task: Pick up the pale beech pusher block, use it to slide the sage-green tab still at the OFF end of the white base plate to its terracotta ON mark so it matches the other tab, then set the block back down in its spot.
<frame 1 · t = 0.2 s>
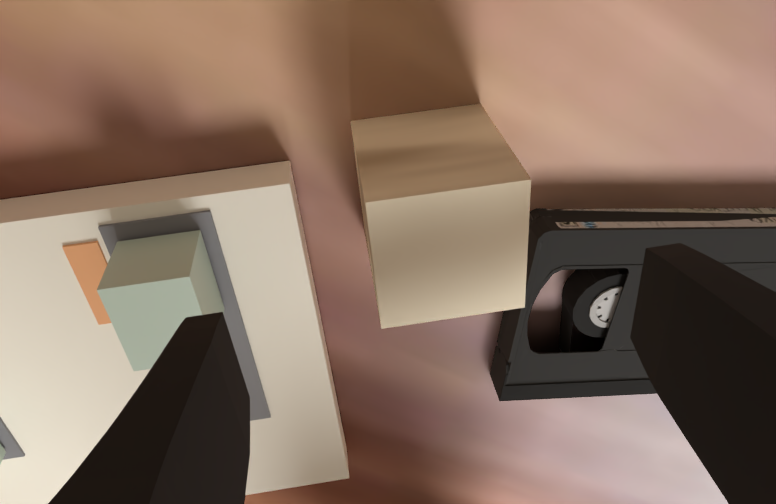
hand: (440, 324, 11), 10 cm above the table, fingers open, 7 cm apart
pusher block: (419, 170, 20), on the table
vhs tape: (671, 283, 25), on the table
tab b: (167, 300, 18), point 3 cm above the table, slide at 5.0 cm
white base plate: (91, 364, 23), on the table
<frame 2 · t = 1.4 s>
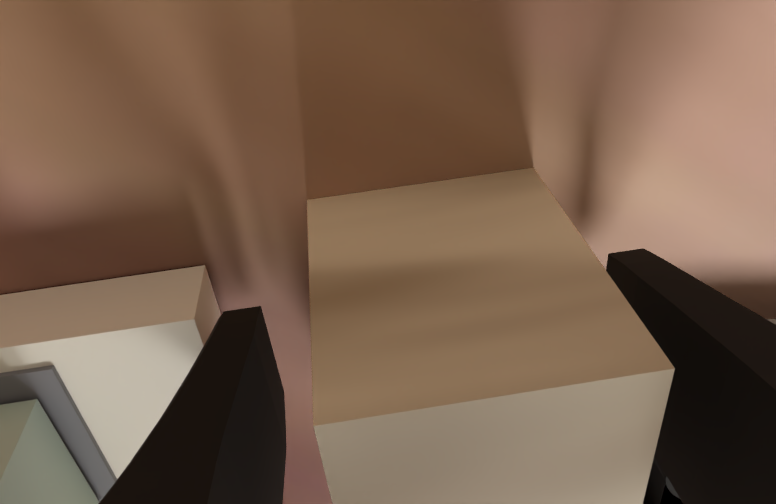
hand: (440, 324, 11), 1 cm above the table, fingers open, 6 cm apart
pusher block: (427, 273, 12), on the table
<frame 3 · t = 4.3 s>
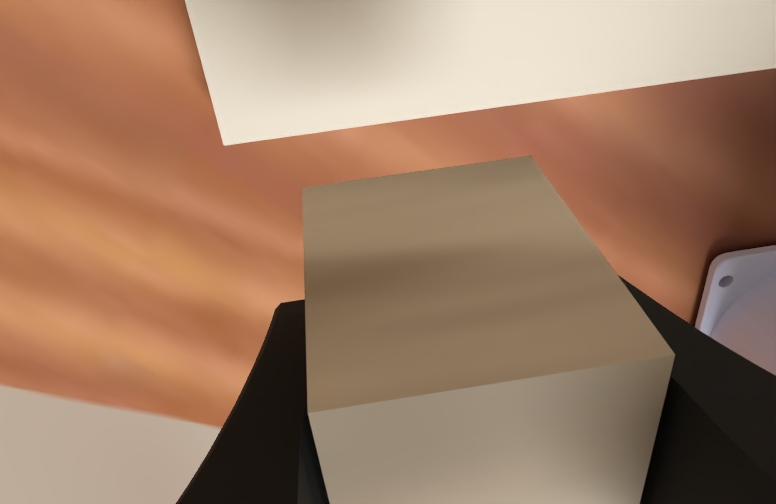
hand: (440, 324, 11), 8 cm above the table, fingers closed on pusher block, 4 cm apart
pusher block: (424, 264, 12), point 7 cm above the table, touching gripper
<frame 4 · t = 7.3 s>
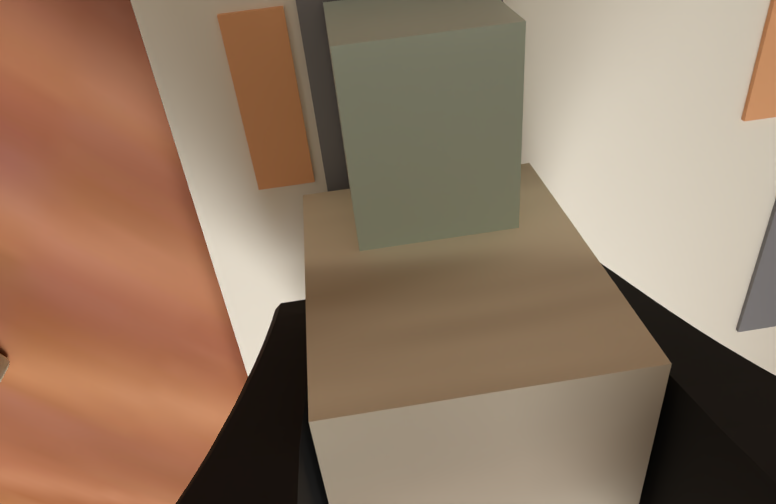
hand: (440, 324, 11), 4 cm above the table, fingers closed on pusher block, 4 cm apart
pusher block: (424, 270, 12), point 2 cm above the table, touching gripper, tab a
tab a: (420, 114, 9), point 3 cm above the table, slide at 5.0 cm, touching pusher block
white base plate: (602, 225, 14), on the table
when the fingers open (2 cm above the table, at t = 11.3 s): pusher block stays where it is, on the table.
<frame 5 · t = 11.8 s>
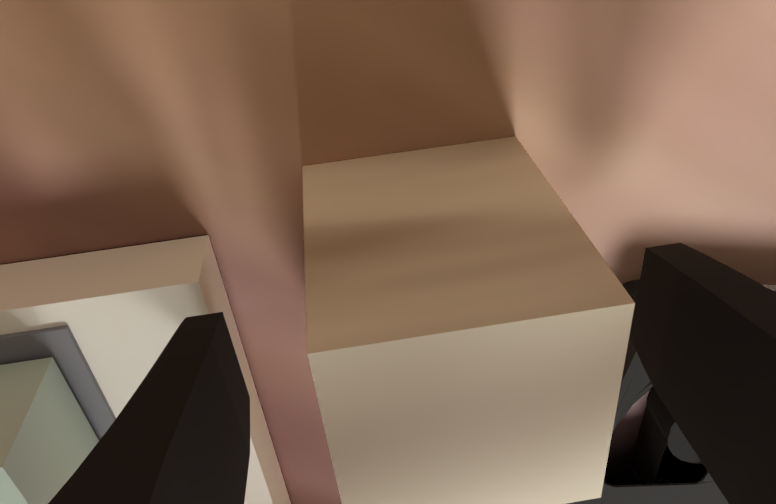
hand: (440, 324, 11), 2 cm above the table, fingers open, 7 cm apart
pusher block: (416, 239, 13), on the table
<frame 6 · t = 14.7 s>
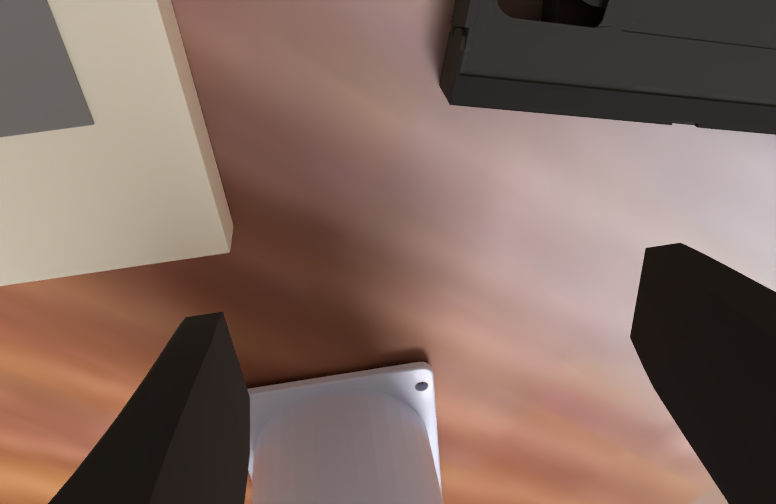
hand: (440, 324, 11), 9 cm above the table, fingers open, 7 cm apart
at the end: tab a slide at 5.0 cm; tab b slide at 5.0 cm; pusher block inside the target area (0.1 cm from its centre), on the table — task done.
